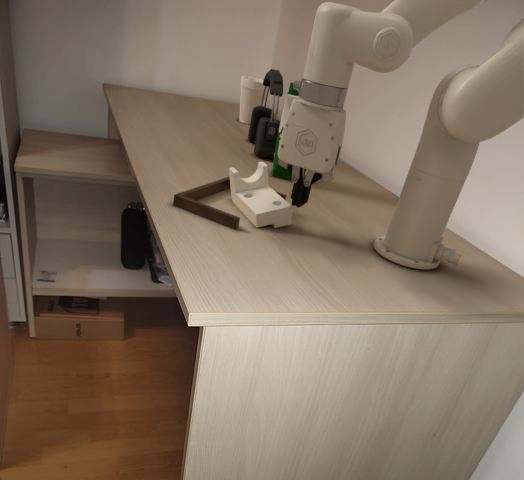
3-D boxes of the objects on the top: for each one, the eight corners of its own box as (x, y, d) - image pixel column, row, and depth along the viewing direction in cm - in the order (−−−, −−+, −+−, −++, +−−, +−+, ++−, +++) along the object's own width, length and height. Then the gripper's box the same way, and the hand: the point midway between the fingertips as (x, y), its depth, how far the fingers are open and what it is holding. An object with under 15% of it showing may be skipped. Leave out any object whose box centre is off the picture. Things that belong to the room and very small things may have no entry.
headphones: (278, 162, 130) (295, 78, 118) (254, 158, 128) (269, 73, 117) (266, 141, 147) (280, 66, 136) (246, 138, 146) (258, 62, 135)
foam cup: (230, 117, 167) (236, 74, 160) (255, 120, 171) (262, 78, 164) (241, 124, 161) (248, 80, 153) (266, 127, 165) (274, 84, 157)
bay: (284, 204, 103) (286, 195, 102) (235, 229, 86) (237, 218, 85) (229, 184, 107) (231, 175, 105) (173, 205, 90) (173, 194, 89)
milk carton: (274, 167, 125) (291, 80, 114) (308, 176, 124) (329, 89, 113) (267, 175, 118) (285, 83, 106) (303, 185, 117) (325, 93, 106)
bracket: (232, 205, 99) (228, 168, 94) (264, 198, 101) (262, 161, 96) (257, 232, 90) (254, 192, 85) (291, 223, 92) (291, 184, 87)
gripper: (272, 85, 79) (253, 197, 89) (358, 108, 75) (328, 222, 85) (290, 84, 85) (270, 189, 95) (371, 105, 81) (341, 212, 91)
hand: (297, 204), depth 90 cm, fingers closed
